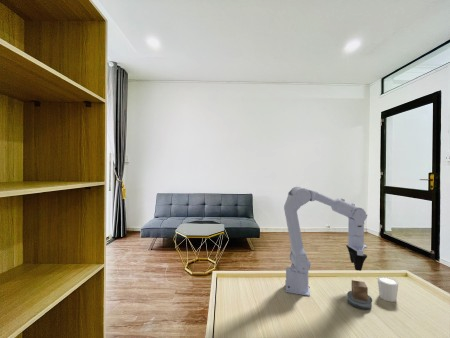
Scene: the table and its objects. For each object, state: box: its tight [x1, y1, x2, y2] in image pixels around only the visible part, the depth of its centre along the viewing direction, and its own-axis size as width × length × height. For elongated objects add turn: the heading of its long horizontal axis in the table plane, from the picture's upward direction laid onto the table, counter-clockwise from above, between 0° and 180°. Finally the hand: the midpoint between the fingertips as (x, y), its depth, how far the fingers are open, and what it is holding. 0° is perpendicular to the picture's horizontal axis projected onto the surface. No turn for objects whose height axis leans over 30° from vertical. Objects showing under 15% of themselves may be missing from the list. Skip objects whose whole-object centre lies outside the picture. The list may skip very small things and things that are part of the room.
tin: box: [346, 290, 373, 311], centre depth 87 cm, size 8×8×3 cm
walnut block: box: [351, 279, 369, 301], centre depth 87 cm, size 4×4×5 cm
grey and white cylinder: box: [377, 276, 399, 303], centre depth 91 cm, size 7×7×7 cm
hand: (355, 266), depth 96 cm, fingers open, 7 cm apart
